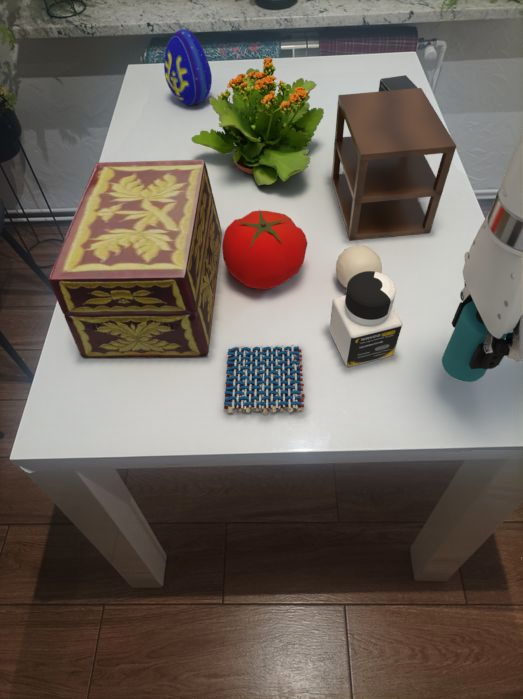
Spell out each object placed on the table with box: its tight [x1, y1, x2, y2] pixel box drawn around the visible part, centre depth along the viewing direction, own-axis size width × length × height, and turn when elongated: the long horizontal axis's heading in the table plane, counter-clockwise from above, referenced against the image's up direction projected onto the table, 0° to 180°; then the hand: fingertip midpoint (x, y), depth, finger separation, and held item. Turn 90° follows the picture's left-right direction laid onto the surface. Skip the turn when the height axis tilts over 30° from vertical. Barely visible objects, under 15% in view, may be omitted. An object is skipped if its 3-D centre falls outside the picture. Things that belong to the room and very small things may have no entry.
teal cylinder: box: [441, 301, 507, 383], centre depth 54 cm, size 5×5×9 cm
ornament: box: [163, 28, 213, 106], centre depth 107 cm, size 11×9×15 cm
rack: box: [331, 87, 457, 241], centre depth 80 cm, size 14×18×16 cm
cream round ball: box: [335, 244, 383, 289], centre depth 73 cm, size 7×7×7 cm
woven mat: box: [223, 344, 306, 416], centre depth 64 cm, size 10×11×2 cm
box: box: [377, 74, 419, 92], centre depth 96 cm, size 8×6×11 cm
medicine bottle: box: [329, 271, 403, 368], centre depth 63 cm, size 7×7×12 cm
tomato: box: [221, 209, 308, 290], centre depth 73 cm, size 13×12×11 cm
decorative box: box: [48, 159, 223, 359], centre depth 70 cm, size 28×19×15 cm
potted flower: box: [191, 57, 325, 187], centre depth 90 cm, size 25×24×18 cm
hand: (473, 343), depth 55 cm, fingers closed on teal cylinder, 5 cm apart
